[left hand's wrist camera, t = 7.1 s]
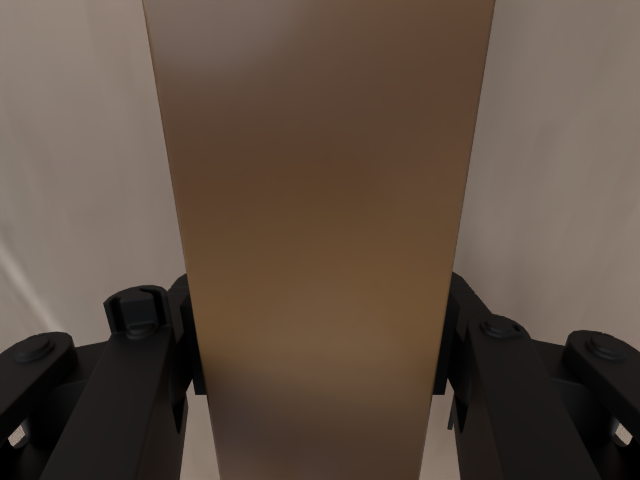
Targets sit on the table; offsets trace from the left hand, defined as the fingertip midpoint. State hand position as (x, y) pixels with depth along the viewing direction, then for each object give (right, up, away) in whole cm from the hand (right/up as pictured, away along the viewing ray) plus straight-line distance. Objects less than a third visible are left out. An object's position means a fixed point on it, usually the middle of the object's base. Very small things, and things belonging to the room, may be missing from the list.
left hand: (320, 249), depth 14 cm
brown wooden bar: (0, +20, -7) cm, 21 cm away
